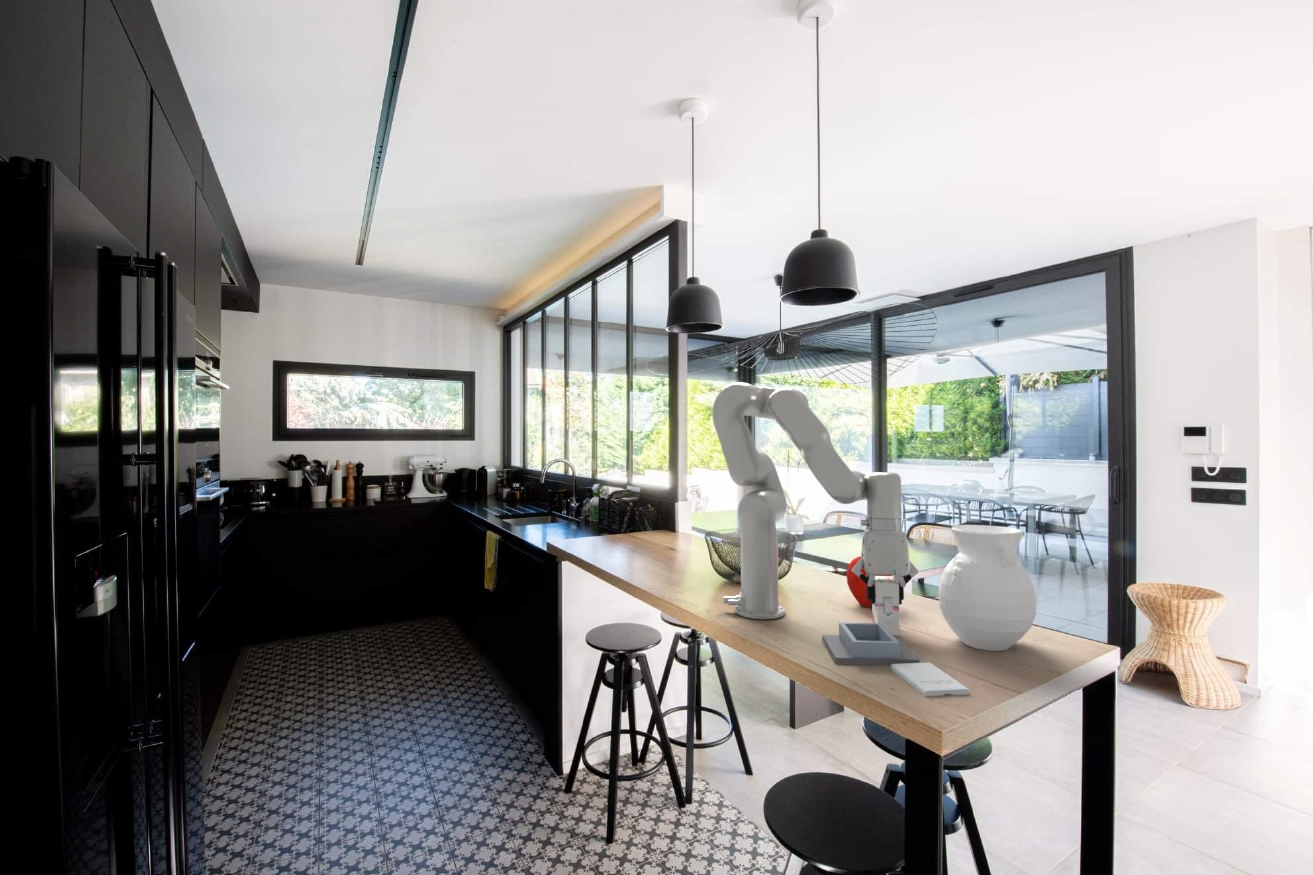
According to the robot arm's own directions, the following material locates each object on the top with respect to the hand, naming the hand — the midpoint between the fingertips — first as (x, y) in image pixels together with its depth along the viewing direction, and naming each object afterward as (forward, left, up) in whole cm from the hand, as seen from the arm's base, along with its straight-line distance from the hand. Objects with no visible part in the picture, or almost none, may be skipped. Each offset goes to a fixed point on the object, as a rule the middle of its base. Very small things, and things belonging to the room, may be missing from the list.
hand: (885, 601), depth 138 cm
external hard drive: (-1, -30, -7) cm, 31 cm away
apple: (+2, +21, -7) cm, 22 cm away
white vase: (+19, -8, -7) cm, 22 cm away
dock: (-8, -16, -7) cm, 19 cm away
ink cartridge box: (0, 0, -7) cm, 7 cm away
